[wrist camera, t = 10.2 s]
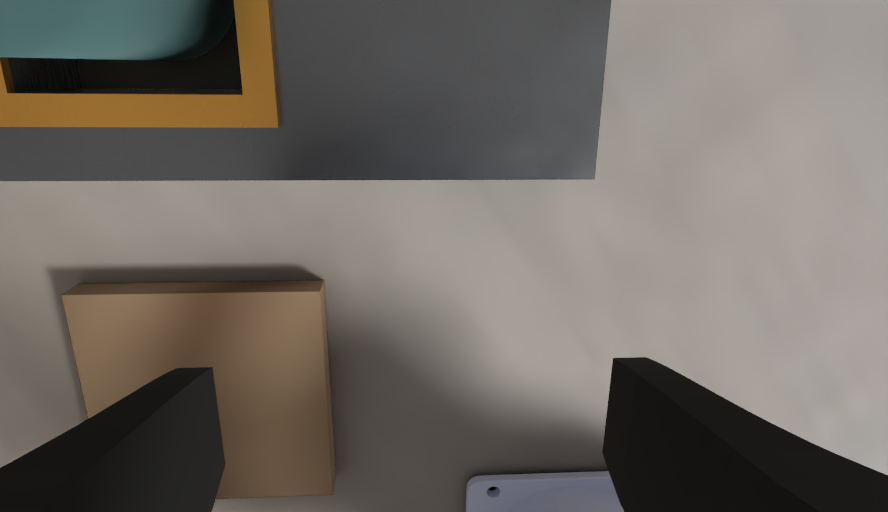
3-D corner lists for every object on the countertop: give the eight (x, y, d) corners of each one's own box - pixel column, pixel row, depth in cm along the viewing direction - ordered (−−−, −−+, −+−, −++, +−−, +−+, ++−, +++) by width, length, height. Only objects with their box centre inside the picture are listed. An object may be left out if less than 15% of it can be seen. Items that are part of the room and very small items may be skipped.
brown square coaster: (324, 280, 19) (319, 291, 18) (335, 476, 22) (332, 494, 21) (78, 283, 19) (61, 295, 18) (119, 483, 21) (106, 502, 20)
